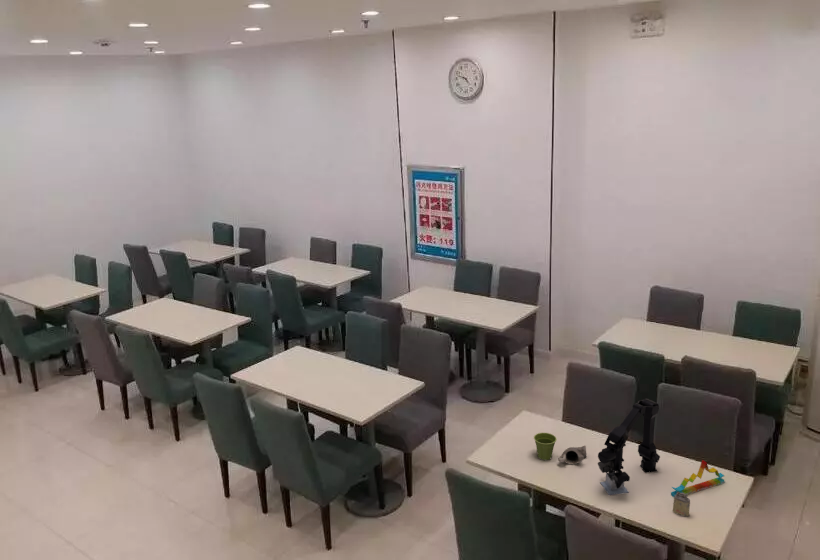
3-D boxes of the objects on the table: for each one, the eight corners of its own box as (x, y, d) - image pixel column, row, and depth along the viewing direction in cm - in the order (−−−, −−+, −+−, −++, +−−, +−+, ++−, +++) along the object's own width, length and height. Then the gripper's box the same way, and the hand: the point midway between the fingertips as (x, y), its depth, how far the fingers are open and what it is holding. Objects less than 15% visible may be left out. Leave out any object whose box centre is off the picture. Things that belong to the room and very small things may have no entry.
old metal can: (689, 513, 297) (691, 495, 294) (687, 518, 294) (689, 499, 291) (673, 508, 301) (675, 489, 298) (671, 512, 298) (673, 493, 296)
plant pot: (560, 457, 345) (561, 439, 341) (544, 465, 338) (545, 446, 335) (544, 448, 354) (545, 429, 351) (528, 455, 348) (529, 437, 344)
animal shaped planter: (564, 470, 347) (565, 471, 333) (555, 455, 350) (555, 456, 336) (590, 454, 346) (592, 454, 332) (581, 439, 349) (582, 439, 335)
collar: (605, 483, 320) (605, 473, 319) (617, 482, 321) (618, 471, 319) (611, 491, 314) (611, 480, 312) (623, 489, 315) (624, 479, 313)
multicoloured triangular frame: (675, 499, 308) (678, 471, 304) (670, 495, 311) (673, 468, 307) (724, 483, 318) (727, 456, 314) (719, 480, 321) (722, 453, 317)
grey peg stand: (619, 480, 323) (620, 471, 321) (628, 492, 314) (629, 482, 312) (600, 483, 322) (600, 473, 320) (608, 495, 312) (609, 485, 311)
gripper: (592, 447, 320) (591, 474, 325) (608, 468, 303) (606, 497, 307) (613, 444, 322) (612, 472, 326) (631, 465, 304) (629, 494, 309)
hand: (614, 483), depth 317 cm, fingers open, 7 cm apart
